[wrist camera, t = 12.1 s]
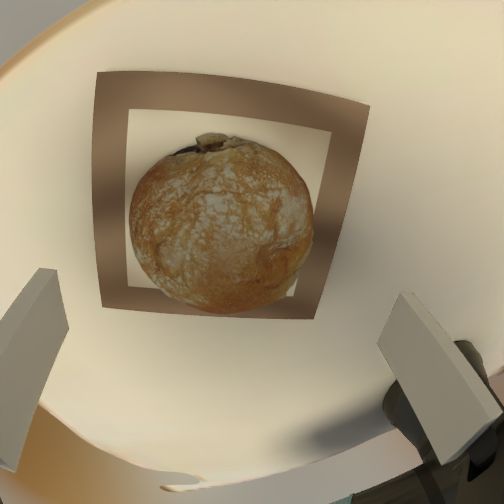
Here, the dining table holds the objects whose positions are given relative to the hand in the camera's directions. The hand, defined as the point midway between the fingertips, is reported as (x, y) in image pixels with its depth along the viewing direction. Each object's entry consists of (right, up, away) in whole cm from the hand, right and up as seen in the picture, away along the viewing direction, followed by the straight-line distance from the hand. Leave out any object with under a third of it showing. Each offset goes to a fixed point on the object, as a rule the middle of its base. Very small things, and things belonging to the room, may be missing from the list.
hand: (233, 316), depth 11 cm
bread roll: (-1, +4, +8) cm, 9 cm away
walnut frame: (-1, +5, +9) cm, 11 cm away
